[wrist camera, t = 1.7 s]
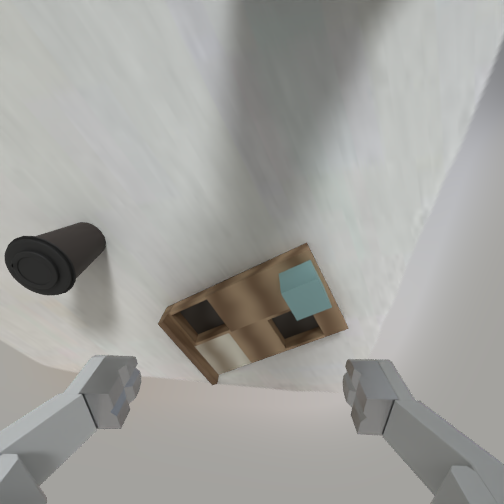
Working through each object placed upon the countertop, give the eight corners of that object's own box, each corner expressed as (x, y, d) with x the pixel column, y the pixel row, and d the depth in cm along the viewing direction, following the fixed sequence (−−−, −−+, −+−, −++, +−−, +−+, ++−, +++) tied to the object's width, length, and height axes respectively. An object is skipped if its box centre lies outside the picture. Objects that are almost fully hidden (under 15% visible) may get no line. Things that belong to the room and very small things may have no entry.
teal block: (310, 259, 35) (317, 278, 30) (323, 286, 37) (332, 307, 32) (278, 273, 36) (280, 293, 32) (292, 298, 38) (297, 320, 34)
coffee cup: (50, 216, 36) (-20, 244, 27) (102, 209, 36) (47, 235, 27) (75, 265, 40) (20, 303, 31) (122, 259, 39) (80, 297, 30)
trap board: (306, 242, 36) (311, 255, 33) (344, 318, 42) (352, 336, 39) (167, 307, 43) (157, 324, 39) (216, 365, 48) (212, 385, 45)
